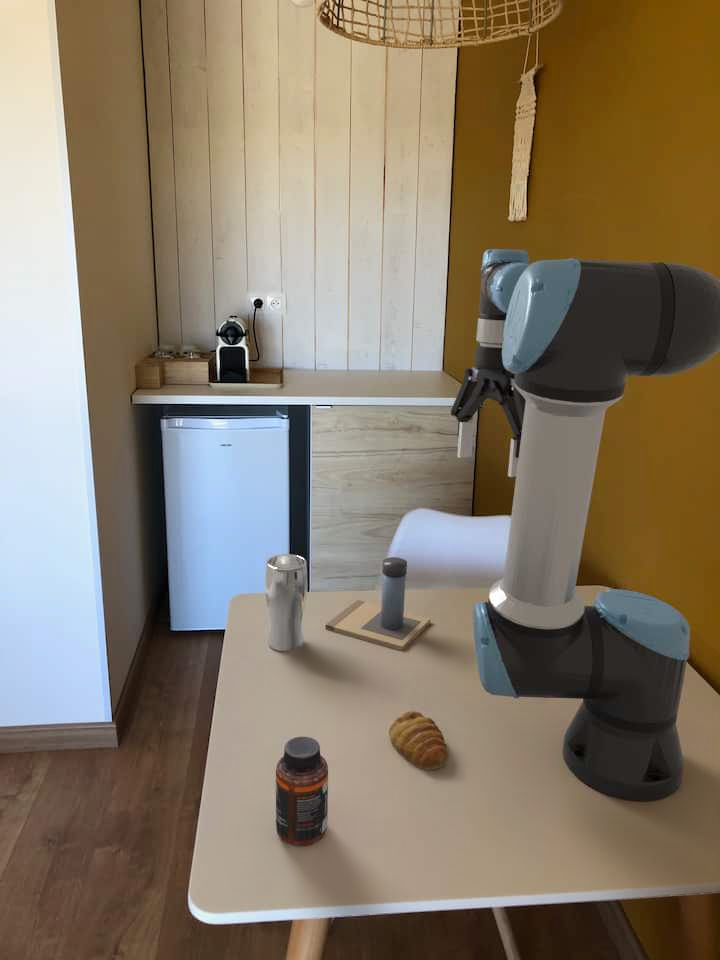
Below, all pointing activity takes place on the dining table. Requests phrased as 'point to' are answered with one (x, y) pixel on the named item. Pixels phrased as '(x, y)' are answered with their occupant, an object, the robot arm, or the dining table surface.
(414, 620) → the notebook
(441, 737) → the pastry
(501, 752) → the dining table surface
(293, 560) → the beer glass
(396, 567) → the blue bottle
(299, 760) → the supplement bottle
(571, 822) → the dining table surface
